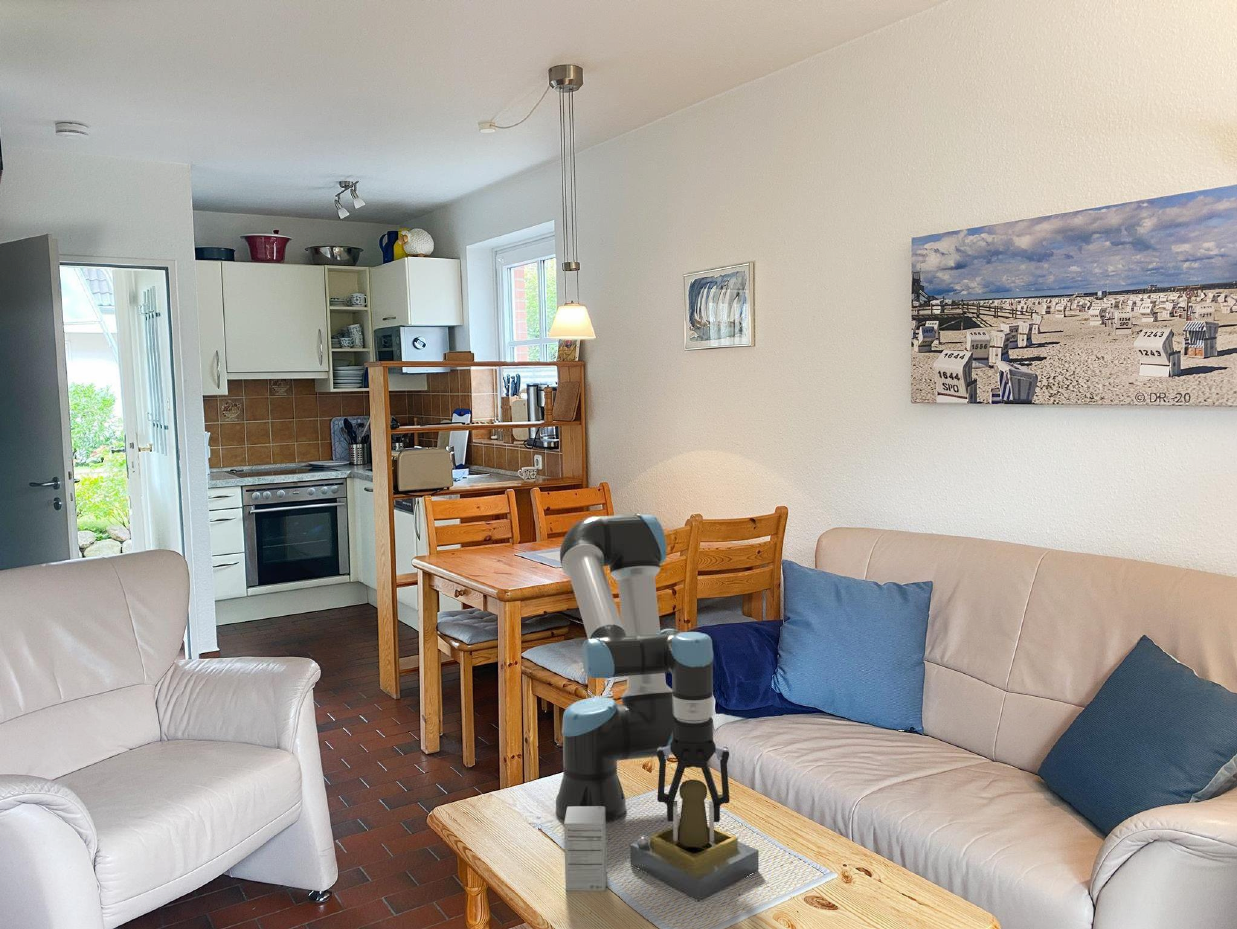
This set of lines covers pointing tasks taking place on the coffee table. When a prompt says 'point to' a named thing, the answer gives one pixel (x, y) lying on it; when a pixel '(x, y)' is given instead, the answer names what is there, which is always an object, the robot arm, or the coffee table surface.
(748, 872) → the grey base with frame
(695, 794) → the olive brown pawn
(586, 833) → the supplement box
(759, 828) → the coffee table surface
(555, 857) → the coffee table surface
